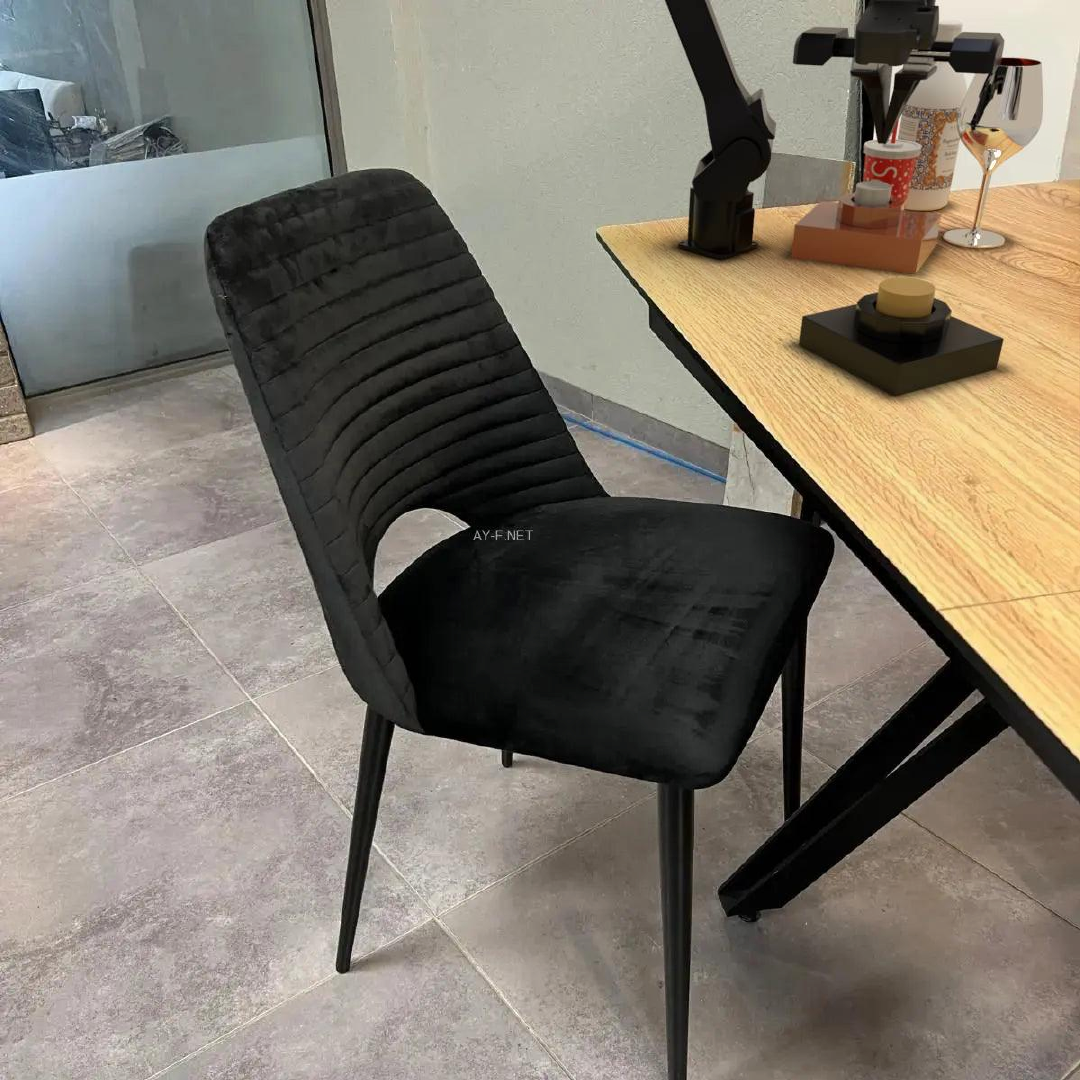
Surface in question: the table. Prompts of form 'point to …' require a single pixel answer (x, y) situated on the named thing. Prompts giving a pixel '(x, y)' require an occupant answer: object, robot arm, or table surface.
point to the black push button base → (900, 345)
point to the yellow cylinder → (905, 297)
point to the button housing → (867, 235)
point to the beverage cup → (891, 163)
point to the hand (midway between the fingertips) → (882, 143)
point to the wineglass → (998, 130)
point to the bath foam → (934, 129)
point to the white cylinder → (872, 193)
